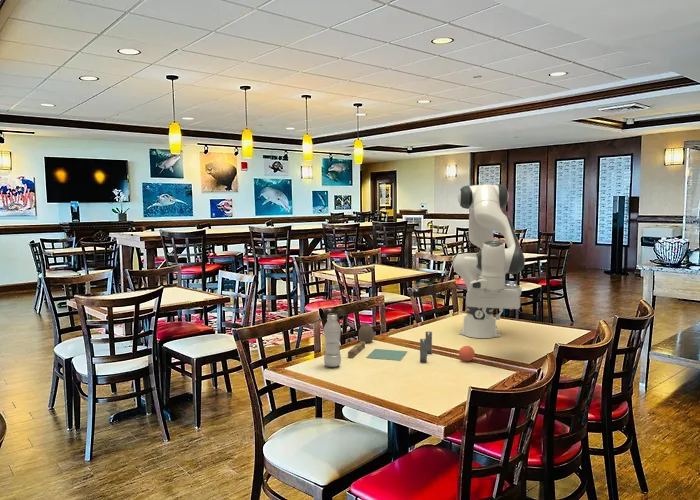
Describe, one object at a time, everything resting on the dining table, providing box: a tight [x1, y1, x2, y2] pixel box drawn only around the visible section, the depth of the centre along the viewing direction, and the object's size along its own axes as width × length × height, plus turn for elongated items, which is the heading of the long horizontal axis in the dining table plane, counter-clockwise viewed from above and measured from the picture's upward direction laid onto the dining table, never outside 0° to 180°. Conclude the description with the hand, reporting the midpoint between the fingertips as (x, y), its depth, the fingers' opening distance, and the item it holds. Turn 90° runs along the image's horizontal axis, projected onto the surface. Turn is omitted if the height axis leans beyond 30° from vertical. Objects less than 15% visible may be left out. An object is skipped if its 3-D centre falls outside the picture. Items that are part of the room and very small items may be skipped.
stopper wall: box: [347, 340, 366, 359], centre depth 217 cm, size 18×2×2 cm, turn 163°
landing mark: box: [365, 348, 408, 362], centre depth 214 cm, size 14×14×1 cm
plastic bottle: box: [323, 313, 342, 368], centre depth 197 cm, size 6×7×20 cm
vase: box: [358, 322, 375, 344], centre depth 235 cm, size 7×7×9 cm
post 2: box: [425, 331, 433, 355], centre depth 215 cm, size 3×3×9 cm
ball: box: [458, 345, 476, 362], centre depth 204 cm, size 6×6×6 cm
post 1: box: [419, 338, 428, 364], centre depth 202 cm, size 3×3×9 cm
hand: (492, 319), depth 200 cm, fingers open, 3 cm apart
